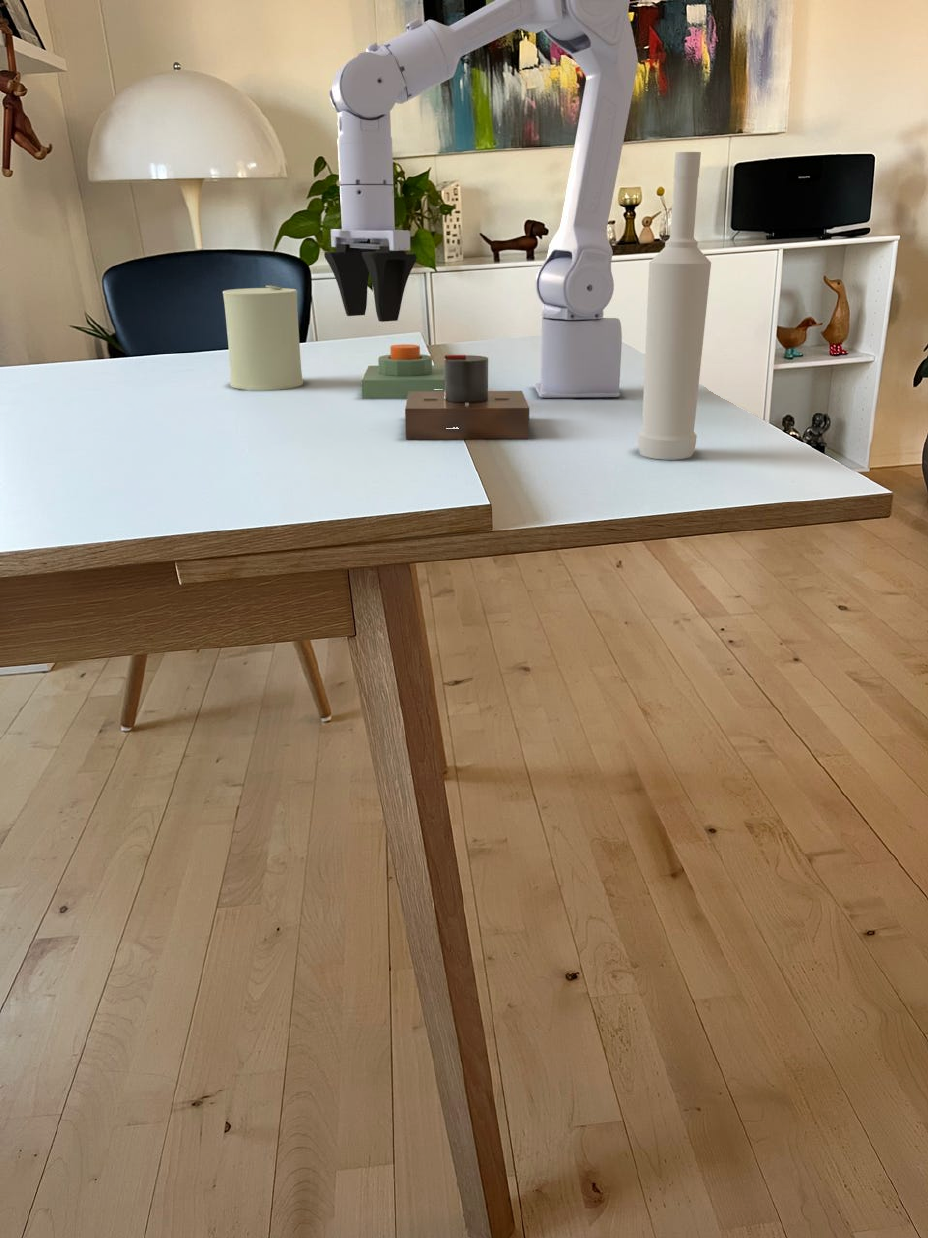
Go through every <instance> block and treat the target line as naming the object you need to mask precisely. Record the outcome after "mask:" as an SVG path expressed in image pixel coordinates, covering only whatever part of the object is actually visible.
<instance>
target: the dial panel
mask: <svg viewBox="0 0 928 1238" xmlns="http://www.w3.org/2000/svg"><path fill="white" fill-rule="evenodd" d="M404 421H405V423H404V424H405V440H513V439H514V440H515V439H516V440H521V439H522V440H523V439H524V440H525V439H526V440H527V439H530V407H529V404H528V402H527V400H526V397H525V394H524V392H523V390H488V399H487V400H485V401H481V402H468V403H464V402H451V401H447V400H445V398H444V391H409V392H408V397H407V398H406V403H405V408H404ZM453 427H455V428H456V427H458V428H459V429H446V428H453Z"/></svg>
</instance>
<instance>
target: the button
mask: <svg viewBox="0 0 928 1238" xmlns="http://www.w3.org/2000/svg"><path fill="white" fill-rule="evenodd" d="M389 349H390V351H389V352H390V354H389V355H391V359H396V360H412V359H420V354H421V347H420V345H418V344H406V343H403V344H392V345H390V346H389Z"/></svg>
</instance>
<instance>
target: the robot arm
mask: <svg viewBox="0 0 928 1238" xmlns="http://www.w3.org/2000/svg"><path fill="white" fill-rule="evenodd" d="M630 2H631V1H630V0H494V1H491V2H490V3H488V4H487V5H484V6H483V7H481V8H479V9H478V10H476V11H474V12H472V13H470V14H469V15H467V16H465V17H463V18H461V19H459V20H458V21H456V22H454V23H452V24H450V25H445V24H442V23H441V22H438V21H436V20H433V19H428V20H426V21H424V22H422V21H421V18H418V17H417V18H415V19H414V20H411V21H410V22H408V23H407V24H406V25H405V29H406V31H404V32H403V33H401V34H399V35H397V36H395V37H393V38H390V39H389V40H388V41H386V42H383V43H382V44H380V45H378V43H377V42H373V43H371V44H368V45H367V46H366V47H365V51H362V52H359V53H358V54H357V55H356V57H354V58H351V59H350V60H349V61H348V62H346V63H345V64H343V65H342V66H340V68H339V69H338V70H337V71H336V73H335V75H334V77H333V79H332V84H331V90H330V91H329V99H330V102H331V105H332V107H333V108H334V110H335V113H337V128H338V137H337V156H338V157H337V158H338V178H339V180H338V181H339V195H340V196H339V197H340V217H341V228H331V229H330V245H331V248H335V249H334V251H333V250H332V251H324V252H323V253H324V255H323V256H324V259H325V260H326V262H327V263H328V266H329V267H330V269H331V272H332V274H333V275H334V279H335V280H336V283H337V287H338V290H339V293H340V297H341V301H342V305H343V308H344V311H345V315H346V316H347V317H356V316H366V311H367V307H368V306H367V305H368V288H369V279H370V280H371V285H372V289H373V297H374V306H375V312H376V317H377V320H378V322H382V323H384V322H385V323H386V322H397V321H399V316H400V312H401V309H402V308H401V307H402V302H403V297H404V293H405V290H406V289H405V288H406V285H407V282H408V279H409V277H410V274H411V272H412V271H413V268H414V266H415V264H416V263H417V260H418V258H417V257H418V256H417V255H418V254H417V253H410V252H408V253H407V251H411V231H410V230H405V229H404V230H402V229H396V227H395V224H396V223H395V222H396V221H395V191H394V189H395V186H394V161H393V159H394V158H393V138H392V130H391V128H392V126H391V125H392V123H391V121H392V120H391V111H392V110H393V108H394V107H395V105H396V104H399V105H402V104H405V103H406V102H408V101H410V100H412V99H414V98H416V97H418V96H420V95H421V94H424V93H426V92H427V91H429V90H431V89H433V88H435V87H437V86H439V85H441V84H442V83H444V82H446V81H448V80H450V79H452V78H454V76H455V74H456V71H457V67H458V64H459V62H460V59H461V58H462V57H463V56H465V55H467V54H470V53H471V52H473V51H475V50H478V49H479V48H481V47H483V46H486V45H488V44H489V43H491V42H494V41H496V40H498V39H500V38H502V37H504V36H506V35H508V34H510V33H512V32H515V31H516V30H519V29H520V30H523V31H526V32H528V33H530V34H534V35H535V34H538V33H540V32H543V34H544V35H545V36H546V37H547V38H548V39H549V40H550V41H551V42H553V43H554V44H555V45H556V46H558V47H559V48H561V49H562V50H563V51H565V52H566V53H567V54H568V55H570V56H571V57H572V58H573V60H574V61H575V62H576V64H577V66H578V67H579V69H580V70H581V72H582V73H583V74H584V76H585V84H584V89H583V96H582V102H581V107H580V113H579V117H578V118H579V119H578V123H577V130H576V135H575V141H574V146H573V152H572V159H571V164H570V169H569V175H568V181H567V186H566V192H565V200H564V204H563V209H562V214H561V221H560V226H559V228H558V229H557V231H556V233H555V234H554V236H553V238H552V239H551V241H550V243H549V245H548V251H547V256H546V258H545V260H544V261H543V263H542V264H541V266H540V268H539V269H538V270H537V274H536V276H535V292H536V295H537V297H538V299H539V300H540V303H541V304H543V306H544V308H543V310H542V312H541V317H542V318H541V344H540V345H541V347H540V348H541V349H540V352H541V353H540V382H539V383H534V389H535V390H536V392H537V394H538V396H539V398H543V399H546V398H548V399H549V398H553V399H554V398H620V397H621V393H620V381H621V364H622V363H621V362H622V346H623V345H622V344H623V336H622V335H623V333H622V323H621V320H620V319H619V318H617V317H604V310H605V309H606V308H607V307H608V305H609V304H610V302H611V301H612V298H613V295H614V289H615V288H614V287H615V282H614V277H613V273H612V260H613V254H614V253H613V249H612V248H613V247H612V245H611V243H610V241H609V238H608V235H607V230H608V224H609V219H610V215H611V208H612V202H613V198H614V192H615V188H616V183H617V177H618V172H619V167H620V160H621V156H622V152H623V145H624V139H625V136H626V135H625V134H626V130H627V125H628V119H629V115H630V108H631V104H632V98H633V94H634V93H633V92H634V88H635V82H636V76H637V72H638V65H639V58H638V52H637V47H636V42H635V37H634V33H633V28H632V24H631V19H630V13H629V8H630ZM368 240H369V242H370V243H366V242H367V241H368ZM361 242H362V243H361ZM364 242H365V243H364ZM377 250H379V251H377Z"/></svg>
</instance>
